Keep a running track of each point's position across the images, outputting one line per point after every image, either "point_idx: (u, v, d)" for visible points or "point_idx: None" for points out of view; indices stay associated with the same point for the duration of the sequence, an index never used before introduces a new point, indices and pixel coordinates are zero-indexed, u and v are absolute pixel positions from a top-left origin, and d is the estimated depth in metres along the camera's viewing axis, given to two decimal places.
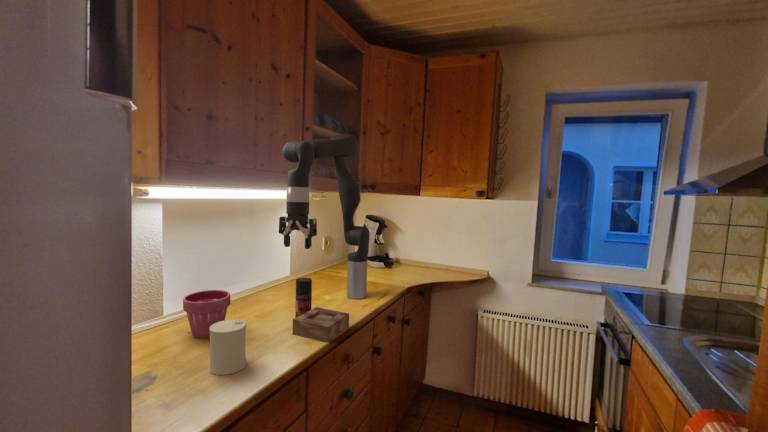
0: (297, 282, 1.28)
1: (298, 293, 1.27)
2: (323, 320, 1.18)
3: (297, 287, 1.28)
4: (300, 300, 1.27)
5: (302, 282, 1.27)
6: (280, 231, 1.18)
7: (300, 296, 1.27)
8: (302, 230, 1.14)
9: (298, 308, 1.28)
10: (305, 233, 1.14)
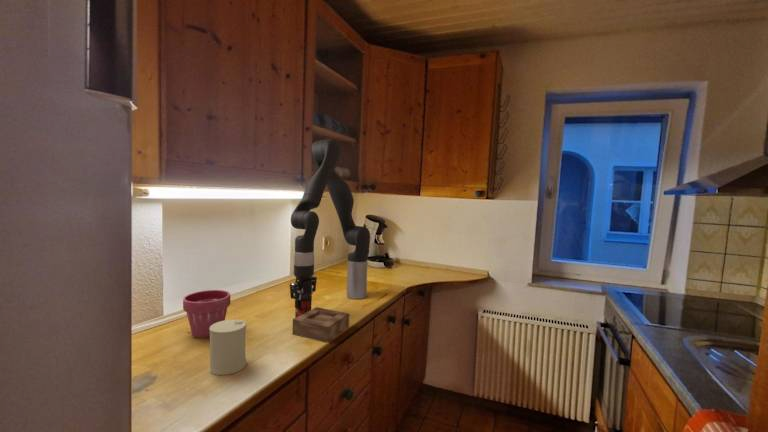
0: None
1: (298, 293, 1.27)
2: (323, 320, 1.18)
3: None
4: None
5: (302, 282, 1.27)
6: (297, 297, 1.25)
7: None
8: None
9: None
10: None
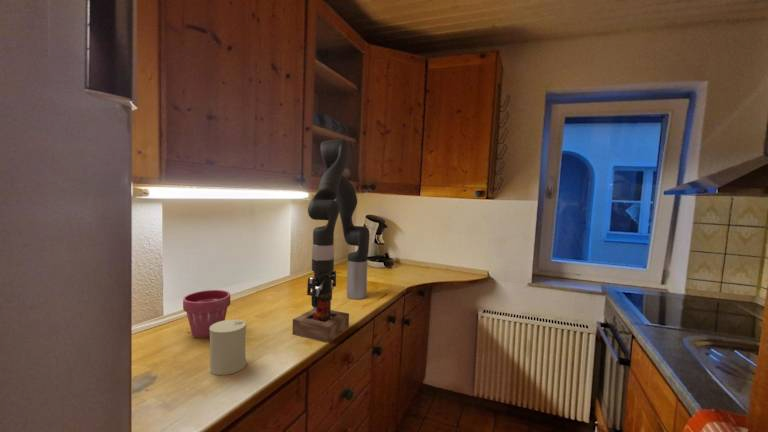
0: None
1: None
2: None
3: None
4: (319, 300, 1.16)
5: (321, 280, 1.15)
6: (314, 293, 1.12)
7: (319, 295, 1.16)
8: (331, 283, 1.21)
9: (317, 309, 1.16)
10: (331, 285, 1.22)
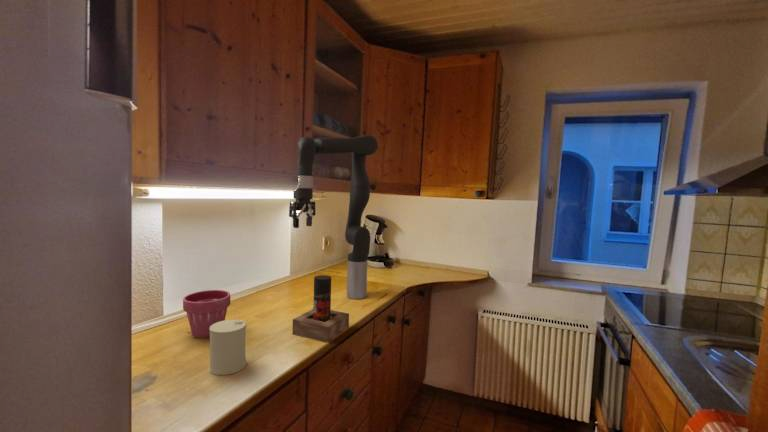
0: (315, 280, 1.16)
1: (317, 292, 1.16)
2: None
3: (315, 285, 1.16)
4: (319, 300, 1.16)
5: (321, 280, 1.15)
6: (295, 215, 1.32)
7: (319, 295, 1.16)
8: (311, 211, 1.41)
9: (317, 309, 1.16)
10: (311, 213, 1.42)
